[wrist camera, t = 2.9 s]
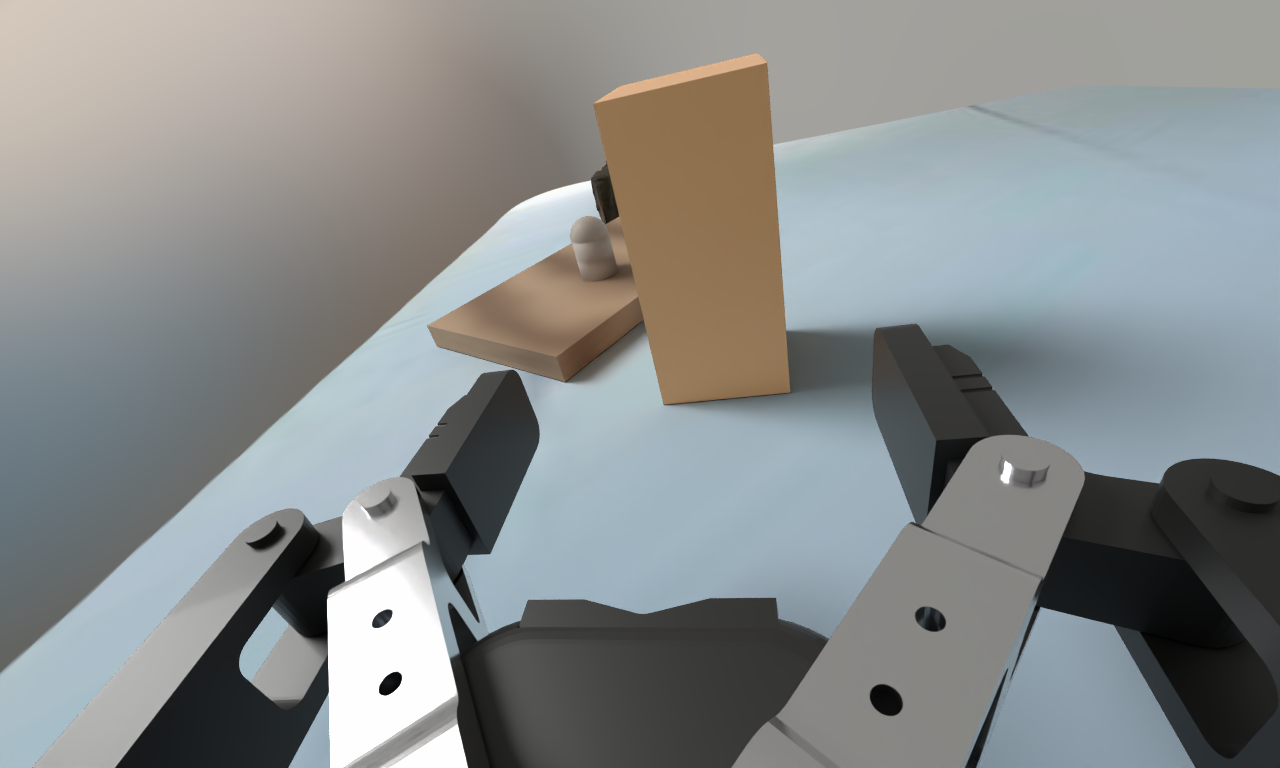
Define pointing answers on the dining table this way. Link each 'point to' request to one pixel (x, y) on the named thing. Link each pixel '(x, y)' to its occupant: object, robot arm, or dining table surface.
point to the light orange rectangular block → (702, 226)
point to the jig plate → (552, 307)
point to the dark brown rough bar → (604, 195)
